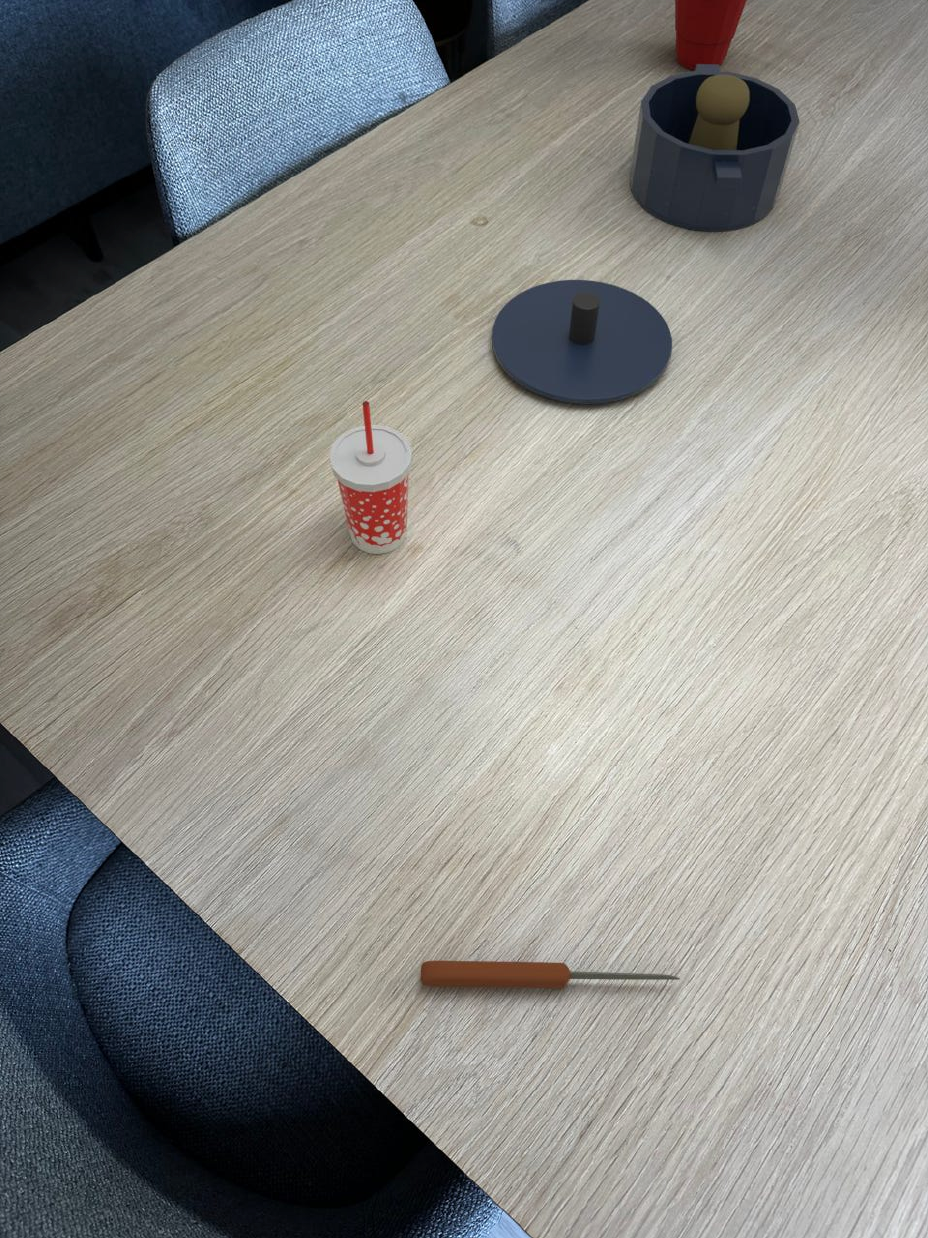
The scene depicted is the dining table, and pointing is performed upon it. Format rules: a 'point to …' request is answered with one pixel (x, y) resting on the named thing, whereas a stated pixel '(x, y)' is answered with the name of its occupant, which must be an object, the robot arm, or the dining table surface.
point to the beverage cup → (373, 483)
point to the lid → (581, 341)
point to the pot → (710, 156)
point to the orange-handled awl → (514, 974)
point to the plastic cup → (705, 30)
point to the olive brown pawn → (719, 112)
